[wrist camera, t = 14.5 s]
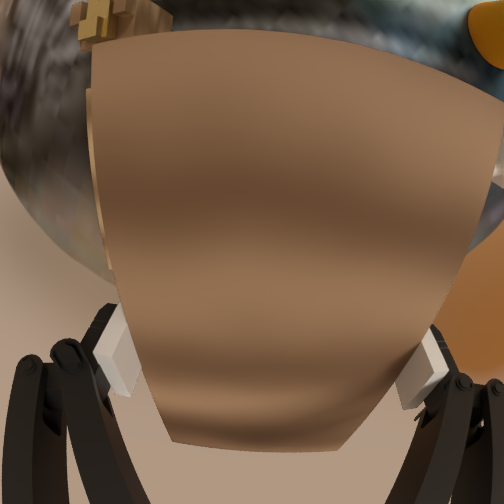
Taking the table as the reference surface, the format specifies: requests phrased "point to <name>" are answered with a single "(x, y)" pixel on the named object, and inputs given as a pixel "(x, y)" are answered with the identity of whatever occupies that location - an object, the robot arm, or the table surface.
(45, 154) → the table surface
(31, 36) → the table surface
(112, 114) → the lid
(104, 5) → the key
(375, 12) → the table surface
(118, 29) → the toolbox
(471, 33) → the beer bottle
